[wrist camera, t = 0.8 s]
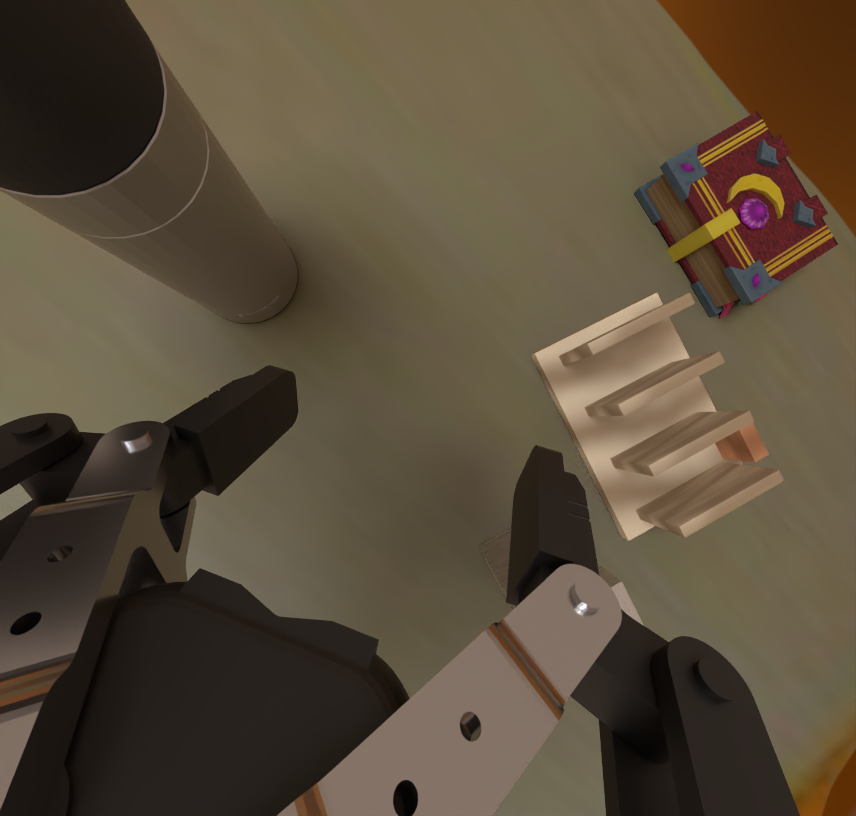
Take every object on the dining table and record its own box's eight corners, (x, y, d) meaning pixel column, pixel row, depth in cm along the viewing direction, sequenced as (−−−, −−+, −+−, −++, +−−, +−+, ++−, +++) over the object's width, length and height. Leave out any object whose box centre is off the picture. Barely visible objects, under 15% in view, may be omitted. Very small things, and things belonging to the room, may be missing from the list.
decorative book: (715, 146, 35) (766, 100, 30) (793, 274, 35) (857, 250, 30) (630, 195, 34) (669, 157, 29) (711, 327, 34) (763, 311, 29)
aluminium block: (478, 545, 31) (530, 633, 18) (532, 516, 32) (621, 581, 19) (492, 574, 31) (555, 682, 18) (546, 543, 32) (644, 628, 19)
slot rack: (530, 355, 32) (559, 340, 26) (649, 296, 33) (702, 269, 27) (621, 537, 32) (671, 563, 26) (737, 471, 33) (810, 482, 27)
